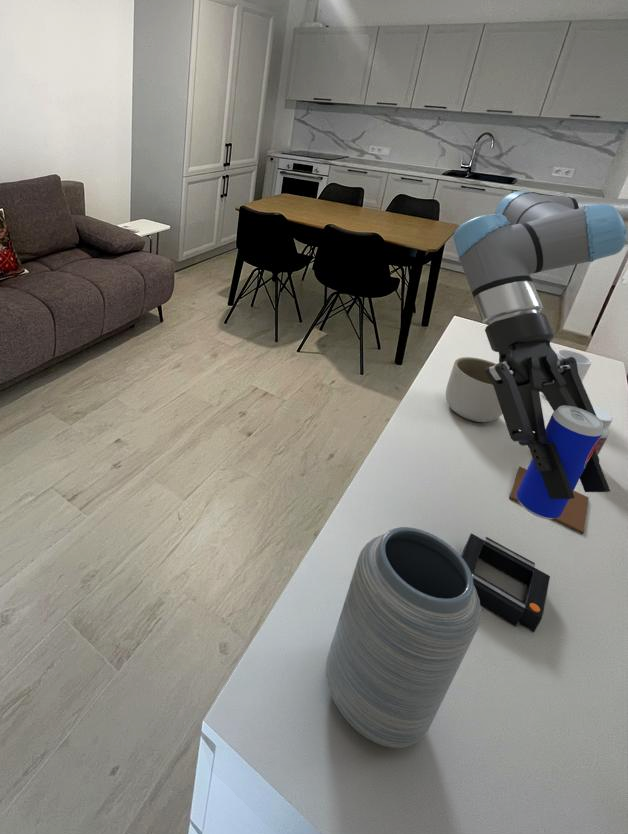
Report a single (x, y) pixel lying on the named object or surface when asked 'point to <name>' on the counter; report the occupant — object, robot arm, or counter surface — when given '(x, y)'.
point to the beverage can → (561, 458)
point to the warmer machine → (517, 568)
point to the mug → (581, 360)
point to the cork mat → (572, 512)
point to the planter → (472, 391)
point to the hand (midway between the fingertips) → (579, 494)
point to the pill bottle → (606, 421)
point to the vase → (401, 635)
